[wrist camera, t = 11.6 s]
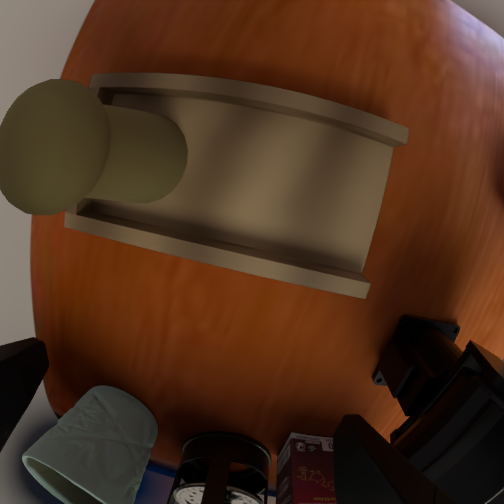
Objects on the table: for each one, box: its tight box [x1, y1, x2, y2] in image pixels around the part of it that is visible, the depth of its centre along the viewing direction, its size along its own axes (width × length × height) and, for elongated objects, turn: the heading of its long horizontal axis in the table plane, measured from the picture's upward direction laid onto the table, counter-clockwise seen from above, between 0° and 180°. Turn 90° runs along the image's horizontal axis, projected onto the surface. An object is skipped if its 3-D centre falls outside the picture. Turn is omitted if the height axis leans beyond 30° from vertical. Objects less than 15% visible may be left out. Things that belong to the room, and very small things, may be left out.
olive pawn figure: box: [0, 79, 188, 215], centre depth 12 cm, size 6×6×11 cm
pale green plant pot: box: [22, 385, 158, 504], centre depth 19 cm, size 10×10×12 cm
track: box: [64, 73, 409, 299], centre depth 17 cm, size 20×10×3 cm, turn 78°
